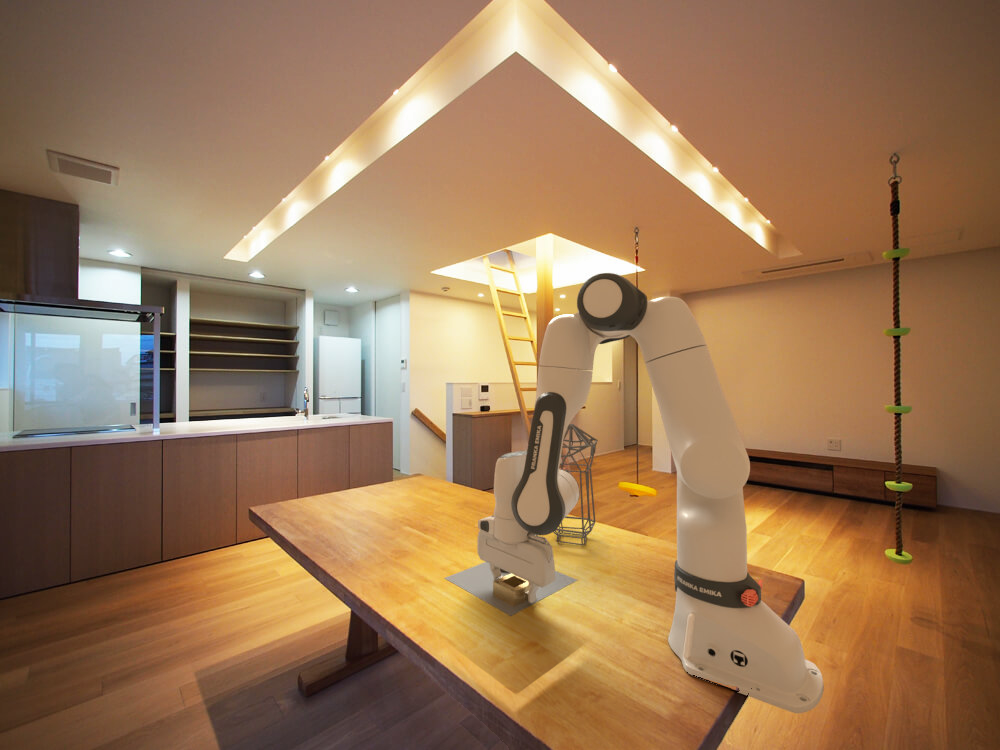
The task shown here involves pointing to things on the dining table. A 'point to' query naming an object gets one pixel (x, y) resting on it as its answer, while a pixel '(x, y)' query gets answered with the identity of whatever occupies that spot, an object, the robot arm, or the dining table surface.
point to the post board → (481, 586)
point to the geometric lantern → (588, 443)
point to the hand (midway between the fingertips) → (514, 592)
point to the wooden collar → (511, 589)
